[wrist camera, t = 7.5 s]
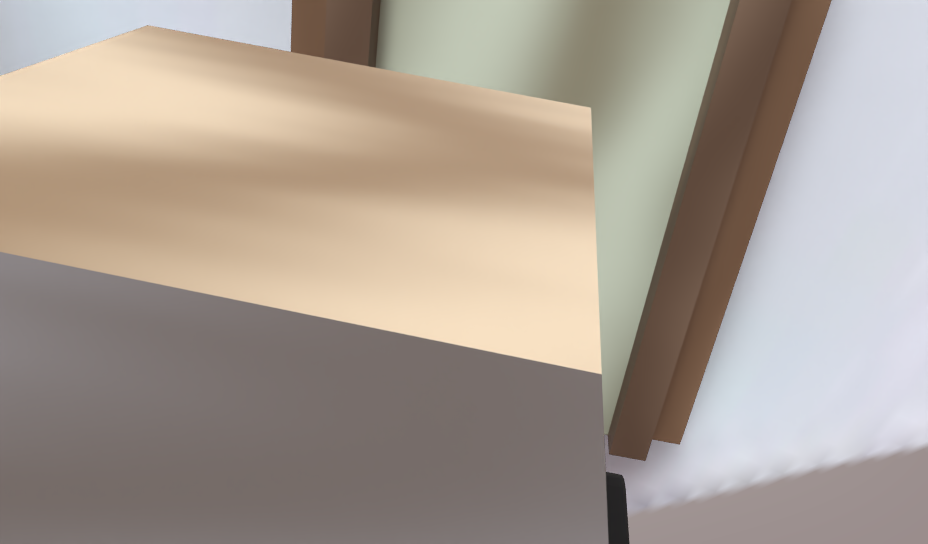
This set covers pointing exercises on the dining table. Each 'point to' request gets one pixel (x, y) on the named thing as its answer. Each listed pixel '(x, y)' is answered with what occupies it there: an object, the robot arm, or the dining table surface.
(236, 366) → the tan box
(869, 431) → the dining table surface
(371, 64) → the dock
